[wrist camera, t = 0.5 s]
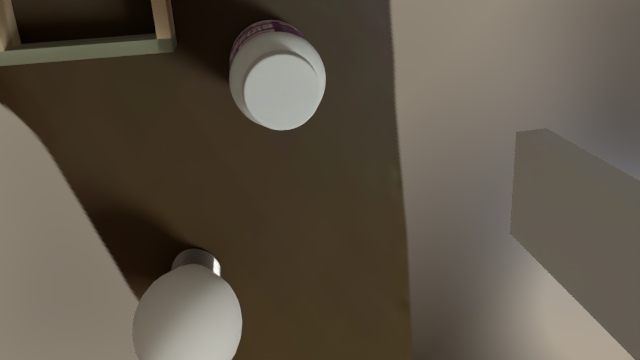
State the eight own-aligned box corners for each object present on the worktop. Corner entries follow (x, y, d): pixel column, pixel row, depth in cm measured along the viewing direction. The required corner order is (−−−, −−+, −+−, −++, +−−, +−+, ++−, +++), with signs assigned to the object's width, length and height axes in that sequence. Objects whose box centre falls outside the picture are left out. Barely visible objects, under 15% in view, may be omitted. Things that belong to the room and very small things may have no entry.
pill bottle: (255, 2, 37) (264, 16, 28) (325, 45, 38) (354, 73, 29) (214, 75, 38) (210, 111, 29) (283, 114, 39) (299, 160, 31)
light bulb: (240, 307, 44) (244, 411, 34) (150, 312, 43) (127, 421, 33) (239, 228, 42) (243, 315, 32) (143, 232, 41) (116, 323, 31)
